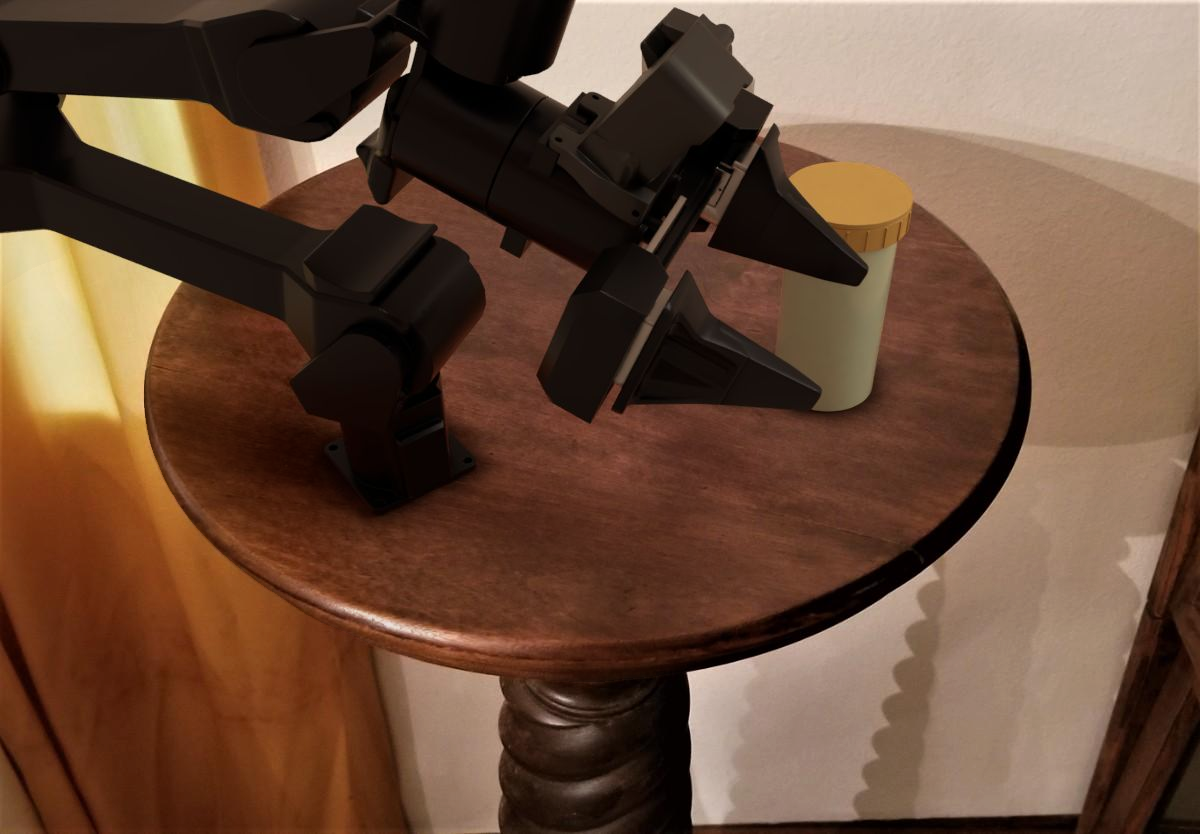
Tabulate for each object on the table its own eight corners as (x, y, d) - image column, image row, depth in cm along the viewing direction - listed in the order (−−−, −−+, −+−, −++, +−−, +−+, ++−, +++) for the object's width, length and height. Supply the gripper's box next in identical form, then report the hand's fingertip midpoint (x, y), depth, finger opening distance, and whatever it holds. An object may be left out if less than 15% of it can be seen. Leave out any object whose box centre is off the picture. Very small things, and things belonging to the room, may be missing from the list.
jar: (751, 374, 70) (767, 193, 62) (822, 338, 73) (847, 160, 65) (821, 425, 66) (848, 240, 58) (893, 386, 69) (928, 203, 61)
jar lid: (755, 213, 63) (757, 186, 62) (844, 176, 66) (847, 149, 65) (845, 268, 59) (849, 239, 58) (935, 225, 62) (941, 197, 61)
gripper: (468, 93, 37) (899, 328, 36) (659, -85, 50) (977, 86, 49) (399, 330, 45) (752, 525, 44) (579, 122, 58) (853, 271, 57)
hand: (842, 335), depth 48 cm, fingers open, 9 cm apart
